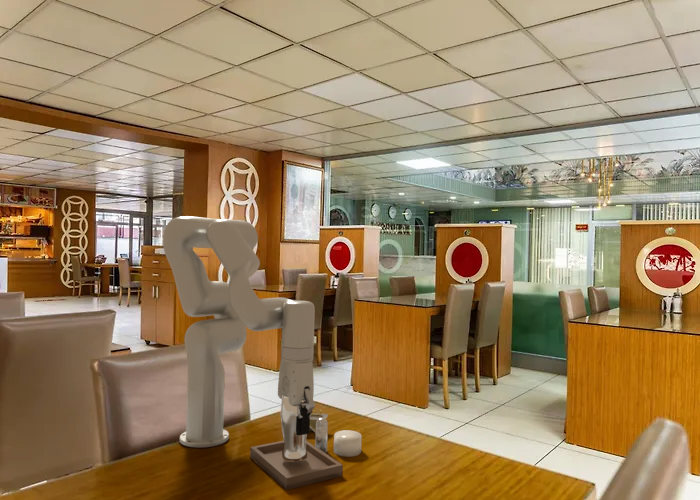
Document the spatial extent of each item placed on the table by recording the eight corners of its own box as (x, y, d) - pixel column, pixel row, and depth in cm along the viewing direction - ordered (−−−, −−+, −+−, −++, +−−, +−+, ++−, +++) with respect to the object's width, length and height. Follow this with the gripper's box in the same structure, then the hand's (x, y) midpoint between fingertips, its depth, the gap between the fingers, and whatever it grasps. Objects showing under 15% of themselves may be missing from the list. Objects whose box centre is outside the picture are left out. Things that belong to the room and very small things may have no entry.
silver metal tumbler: (275, 461, 118) (276, 396, 118) (285, 450, 125) (286, 388, 125) (304, 464, 117) (306, 398, 117) (312, 453, 124) (314, 390, 124)
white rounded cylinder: (329, 453, 129) (330, 438, 129) (339, 443, 136) (339, 428, 136) (356, 458, 127) (356, 442, 127) (364, 448, 133) (365, 432, 133)
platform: (339, 442, 138) (339, 417, 138) (273, 439, 140) (273, 414, 140) (342, 427, 150) (343, 405, 150) (281, 424, 151) (282, 402, 152)
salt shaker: (312, 450, 131) (313, 417, 131) (323, 448, 133) (324, 415, 133) (318, 454, 128) (319, 420, 129) (329, 452, 130) (330, 418, 130)
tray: (250, 457, 125) (250, 447, 126) (301, 447, 133) (301, 437, 133) (286, 490, 109) (286, 478, 109) (342, 476, 116) (342, 465, 116)
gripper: (267, 348, 126) (265, 421, 126) (300, 361, 112) (298, 444, 112) (295, 346, 131) (293, 416, 130) (330, 358, 116) (327, 438, 116)
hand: (295, 428), depth 121 cm, fingers closed on silver metal tumbler, 6 cm apart
